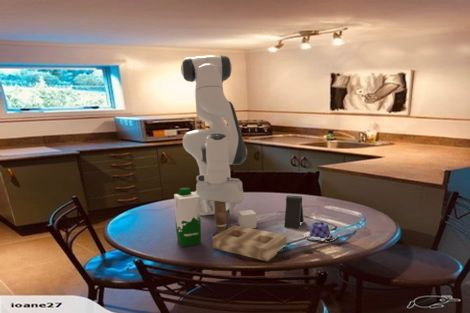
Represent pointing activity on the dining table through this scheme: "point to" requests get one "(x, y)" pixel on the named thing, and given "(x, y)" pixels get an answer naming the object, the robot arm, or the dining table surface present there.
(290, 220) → the black a-frame sign
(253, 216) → the white cube
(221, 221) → the walnut peg
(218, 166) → the robot arm
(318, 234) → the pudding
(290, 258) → the dining table surface
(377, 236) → the dining table surface
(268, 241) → the oak board
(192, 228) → the milk carton
